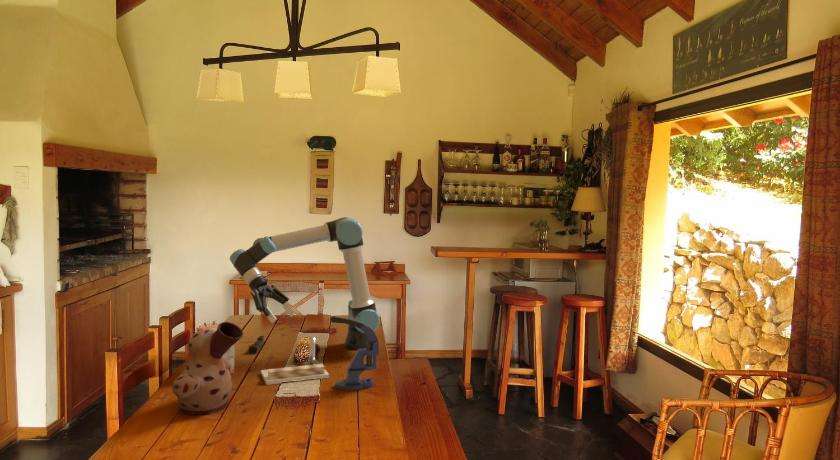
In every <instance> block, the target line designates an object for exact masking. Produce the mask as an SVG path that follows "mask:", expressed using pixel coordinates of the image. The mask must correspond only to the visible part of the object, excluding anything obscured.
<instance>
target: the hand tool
mask: <svg viewBox="0 0 840 460" xmlns="http://www.w3.org/2000/svg"><path fill="white" fill-rule="evenodd" d="M264 339H265V338H264V335H260V336H258V337H257V338H256V341H255V342H254V343H253V344H252V345H251V346H249V347H248V351H247V352H248V354H249V355H255V354H257V353H258V350H260V349H261V347H263V346H264V342H265V341H264Z"/></svg>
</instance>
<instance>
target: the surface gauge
mask: <svg viewBox="0 0 840 460" xmlns="http://www.w3.org/2000/svg"><path fill="white" fill-rule="evenodd" d="M308 351H309V352H308V353H309V356H308V357H309V358H308V360H306V361H303V366H306V365H316V364H321V362H319V360H317V359H316V336H310V337H309V350H308Z"/></svg>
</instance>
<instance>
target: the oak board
mask: <svg viewBox="0 0 840 460" xmlns="http://www.w3.org/2000/svg"><path fill="white" fill-rule="evenodd" d="M325 367H326V366H325V365H324V364H323V363H320V364H316V365H306V366H304V365H299V366H289V367H278V368H268V369H267V370H268V377H269V379H270V380H272V379H282V378H291V377H300V376H309V375H318V374H325V370H326V368H325Z"/></svg>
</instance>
